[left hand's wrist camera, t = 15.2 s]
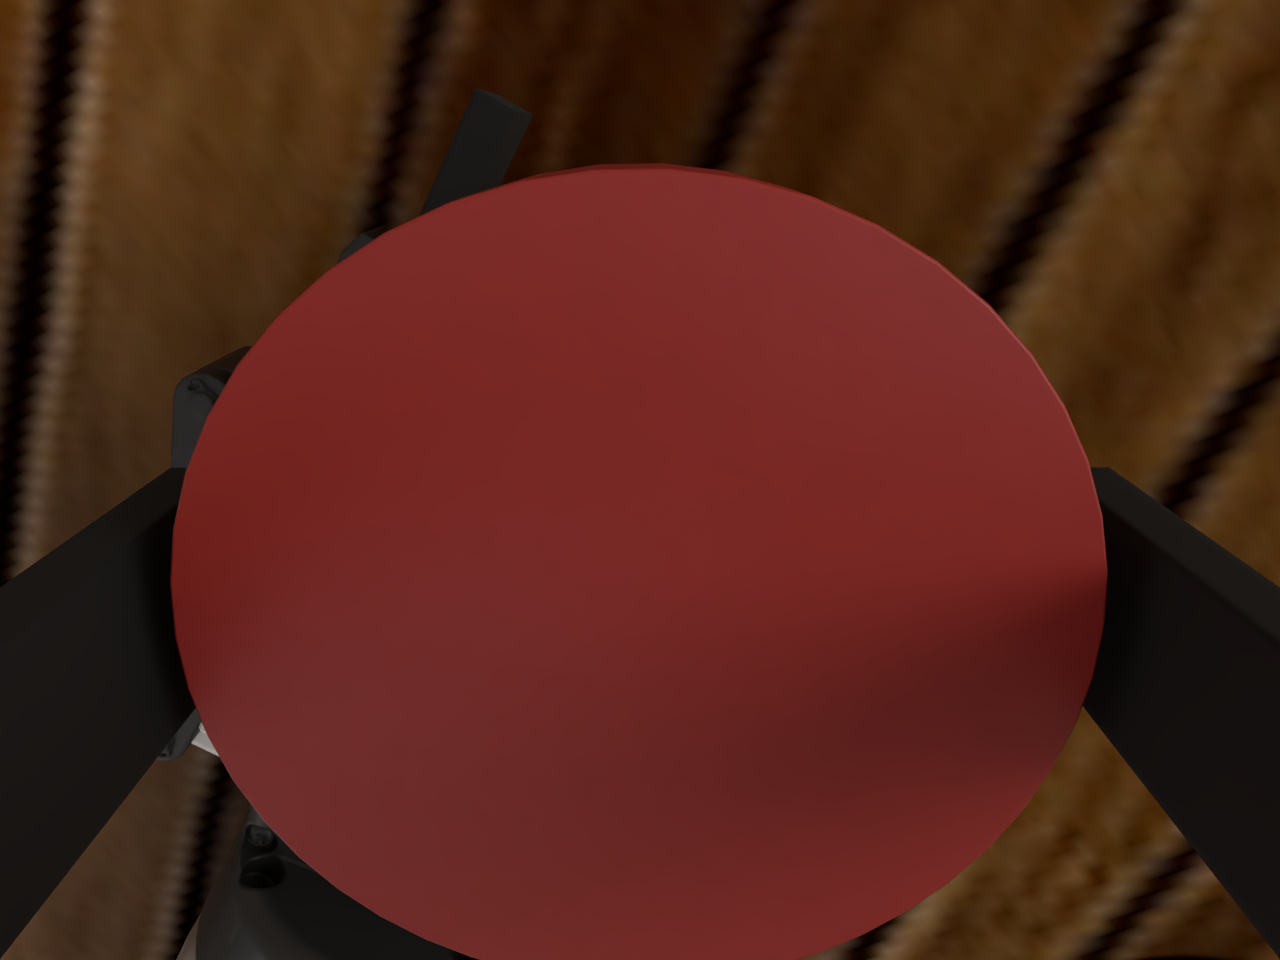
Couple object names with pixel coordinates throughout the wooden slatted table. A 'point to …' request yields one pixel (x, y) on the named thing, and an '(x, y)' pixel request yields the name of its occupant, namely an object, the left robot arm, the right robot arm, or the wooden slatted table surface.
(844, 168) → the wooden slatted table surface
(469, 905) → the lid
